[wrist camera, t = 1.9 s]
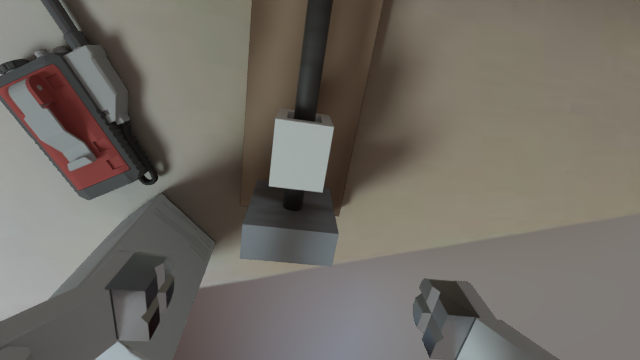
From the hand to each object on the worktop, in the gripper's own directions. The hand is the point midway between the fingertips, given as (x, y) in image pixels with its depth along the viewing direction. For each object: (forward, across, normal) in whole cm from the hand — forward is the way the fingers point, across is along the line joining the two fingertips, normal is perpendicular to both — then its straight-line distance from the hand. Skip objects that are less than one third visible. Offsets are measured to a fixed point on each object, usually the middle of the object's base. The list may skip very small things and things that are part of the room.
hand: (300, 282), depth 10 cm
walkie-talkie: (+21, +20, -1) cm, 29 cm away
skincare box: (+21, +12, +13) cm, 27 cm away
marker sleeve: (+16, 0, 0) cm, 16 cm away
